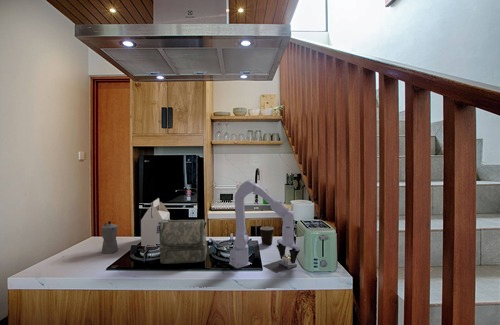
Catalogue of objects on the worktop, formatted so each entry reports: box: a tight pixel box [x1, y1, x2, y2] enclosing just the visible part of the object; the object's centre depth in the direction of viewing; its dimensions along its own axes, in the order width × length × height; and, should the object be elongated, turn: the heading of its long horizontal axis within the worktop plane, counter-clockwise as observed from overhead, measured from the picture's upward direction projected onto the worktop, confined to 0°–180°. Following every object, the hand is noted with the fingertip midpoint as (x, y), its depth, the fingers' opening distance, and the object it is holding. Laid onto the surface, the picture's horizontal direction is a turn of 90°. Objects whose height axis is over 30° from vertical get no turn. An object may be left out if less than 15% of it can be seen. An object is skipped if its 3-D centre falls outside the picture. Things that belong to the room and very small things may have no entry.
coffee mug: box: [259, 226, 274, 246], centre depth 182 cm, size 12×9×10 cm
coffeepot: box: [100, 220, 119, 255], centre depth 167 cm, size 15×9×18 cm, turn 44°
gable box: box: [140, 197, 171, 246], centre depth 184 cm, size 22×13×28 cm, turn 6°
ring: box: [281, 254, 294, 266], centre depth 144 cm, size 6×6×4 cm
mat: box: [262, 259, 288, 274], centre depth 143 cm, size 14×11×1 cm
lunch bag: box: [157, 219, 208, 265], centre depth 155 cm, size 26×18×22 cm
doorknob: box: [279, 256, 298, 270], centre depth 144 cm, size 6×6×5 cm
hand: (287, 260), depth 144 cm, fingers open, 7 cm apart
